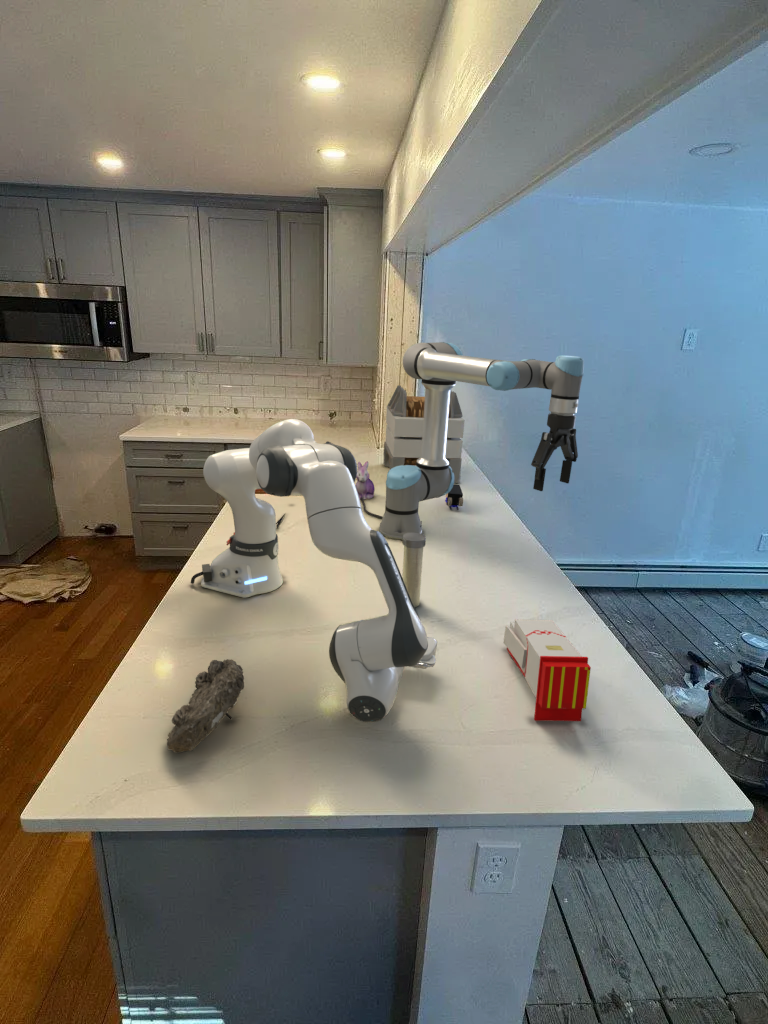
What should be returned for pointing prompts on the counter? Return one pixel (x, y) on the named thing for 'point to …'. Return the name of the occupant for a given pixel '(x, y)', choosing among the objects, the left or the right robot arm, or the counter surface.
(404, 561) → the bottle
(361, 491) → the figurine
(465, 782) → the counter surface
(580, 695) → the toy
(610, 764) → the counter surface
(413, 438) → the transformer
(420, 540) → the lid
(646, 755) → the counter surface
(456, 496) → the figurine character
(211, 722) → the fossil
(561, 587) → the counter surface
